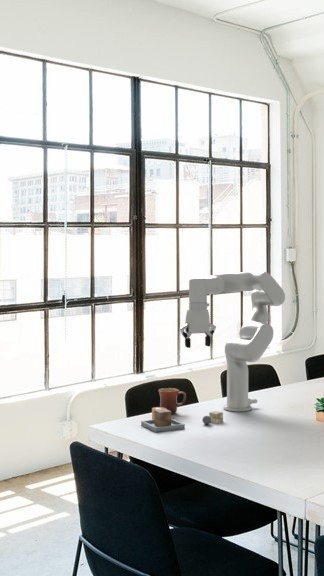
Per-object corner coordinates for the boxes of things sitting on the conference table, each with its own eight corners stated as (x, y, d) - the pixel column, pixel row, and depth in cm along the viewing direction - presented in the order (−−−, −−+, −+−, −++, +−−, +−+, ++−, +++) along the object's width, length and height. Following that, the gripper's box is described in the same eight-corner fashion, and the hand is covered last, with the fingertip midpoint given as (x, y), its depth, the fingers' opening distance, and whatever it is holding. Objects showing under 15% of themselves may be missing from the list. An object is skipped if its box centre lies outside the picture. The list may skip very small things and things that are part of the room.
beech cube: (216, 420, 302) (216, 410, 301) (223, 421, 299) (223, 412, 299) (209, 421, 299) (209, 412, 299) (216, 423, 296) (216, 413, 296)
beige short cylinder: (162, 418, 305) (162, 406, 305) (168, 421, 300) (168, 409, 300) (149, 419, 303) (149, 408, 302) (156, 422, 297) (156, 410, 297)
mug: (157, 415, 311) (157, 391, 310) (159, 410, 319) (159, 387, 319) (185, 415, 309) (185, 392, 309) (186, 411, 318) (186, 388, 318)
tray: (169, 421, 298) (169, 417, 298) (184, 428, 287) (184, 424, 287) (141, 425, 292) (141, 420, 292) (155, 432, 281) (155, 427, 281)
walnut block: (165, 423, 293) (165, 408, 293) (171, 426, 289) (171, 411, 288) (154, 424, 291) (154, 410, 291) (160, 427, 286) (160, 412, 286)
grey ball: (208, 423, 296) (208, 414, 296) (212, 424, 293) (212, 416, 293) (200, 423, 295) (200, 415, 294) (205, 425, 291) (205, 417, 291)
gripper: (210, 305, 311) (210, 344, 312) (175, 306, 303) (175, 347, 304) (220, 306, 305) (220, 346, 305) (184, 307, 297) (184, 349, 298)
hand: (197, 346), depth 305 cm, fingers open, 9 cm apart
